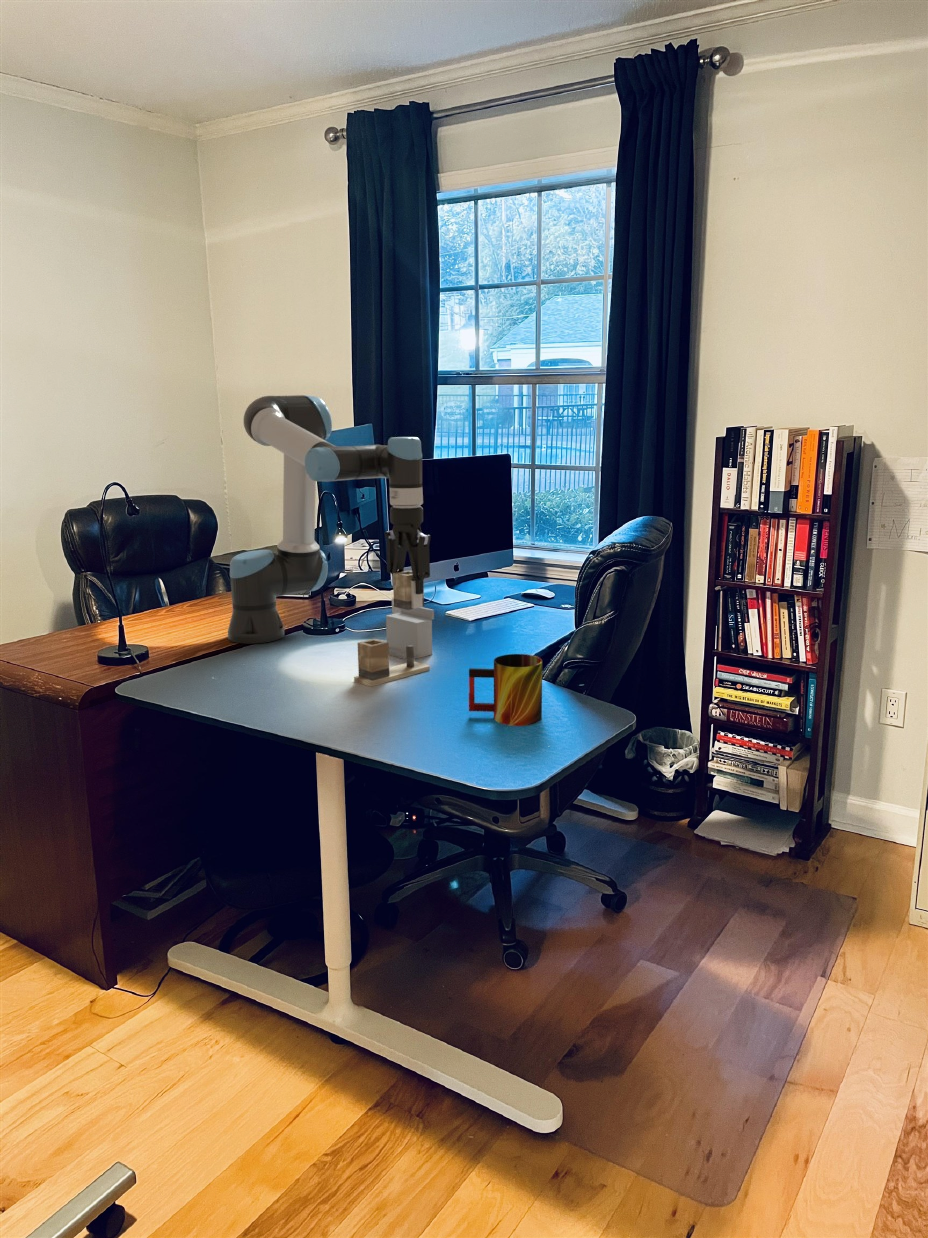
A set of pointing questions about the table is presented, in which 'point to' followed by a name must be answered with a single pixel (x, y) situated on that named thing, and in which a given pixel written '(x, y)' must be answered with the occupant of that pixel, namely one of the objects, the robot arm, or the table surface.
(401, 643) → the chute
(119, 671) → the table surface
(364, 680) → the pin board
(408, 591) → the sleeve
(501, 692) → the mug
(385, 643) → the sleeve
